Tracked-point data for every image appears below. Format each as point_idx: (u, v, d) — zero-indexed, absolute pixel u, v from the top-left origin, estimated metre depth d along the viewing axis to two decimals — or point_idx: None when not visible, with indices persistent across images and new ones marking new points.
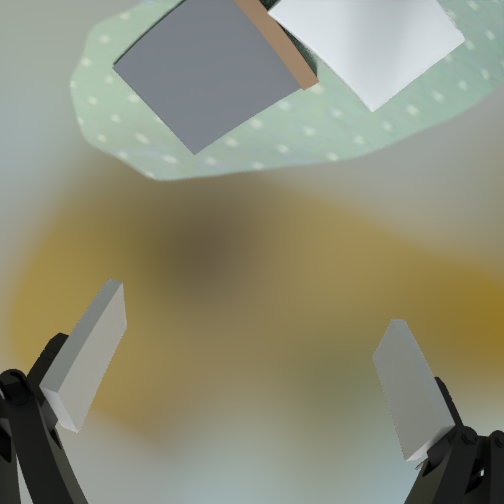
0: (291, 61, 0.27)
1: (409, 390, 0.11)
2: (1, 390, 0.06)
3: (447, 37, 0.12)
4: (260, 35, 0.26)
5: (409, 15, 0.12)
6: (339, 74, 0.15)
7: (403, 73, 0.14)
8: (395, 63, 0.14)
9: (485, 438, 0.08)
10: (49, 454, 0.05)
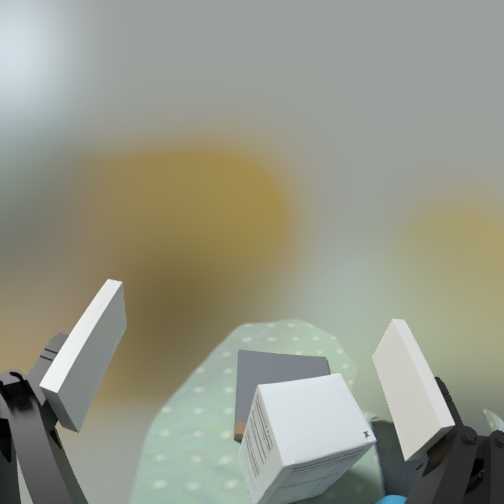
0: None
1: (409, 390, 0.11)
2: (1, 390, 0.06)
3: (291, 451, 0.21)
4: None
5: (314, 432, 0.23)
6: (290, 381, 0.28)
7: (275, 411, 0.24)
8: (284, 409, 0.25)
9: (485, 438, 0.08)
10: (49, 454, 0.05)
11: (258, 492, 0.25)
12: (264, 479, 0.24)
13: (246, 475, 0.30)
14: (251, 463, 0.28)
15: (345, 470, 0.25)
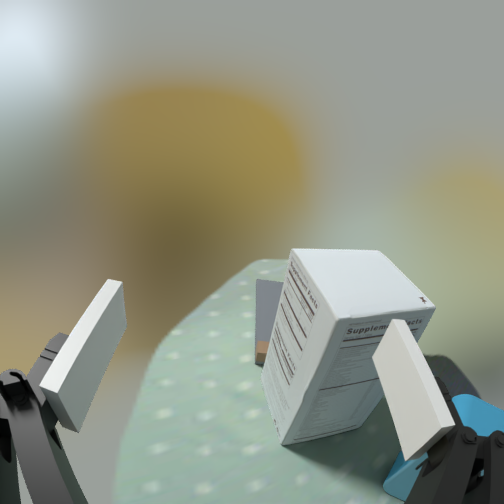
0: None
1: (409, 390, 0.11)
2: (1, 390, 0.06)
3: (342, 304, 0.19)
4: None
5: (365, 289, 0.20)
6: (327, 249, 0.26)
7: (316, 268, 0.22)
8: (326, 268, 0.22)
9: (485, 438, 0.08)
10: (49, 454, 0.05)
11: (292, 407, 0.23)
12: (302, 376, 0.22)
13: (273, 397, 0.28)
14: (282, 369, 0.26)
15: None
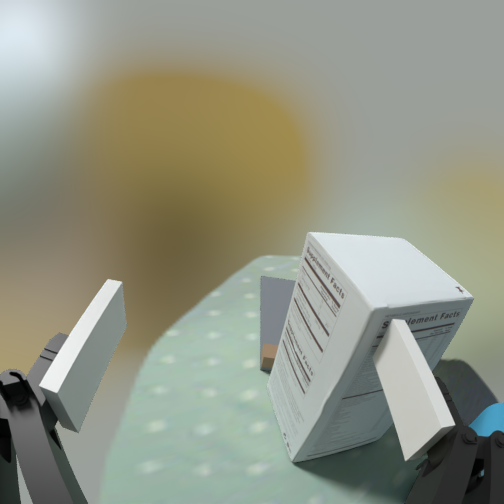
0: None
1: (409, 390, 0.11)
2: (1, 390, 0.06)
3: (376, 291, 0.15)
4: None
5: (397, 276, 0.17)
6: None
7: (339, 252, 0.19)
8: (351, 252, 0.19)
9: (485, 438, 0.08)
10: (49, 454, 0.05)
11: (307, 419, 0.19)
12: (323, 383, 0.18)
13: (282, 407, 0.23)
14: (295, 375, 0.21)
15: None
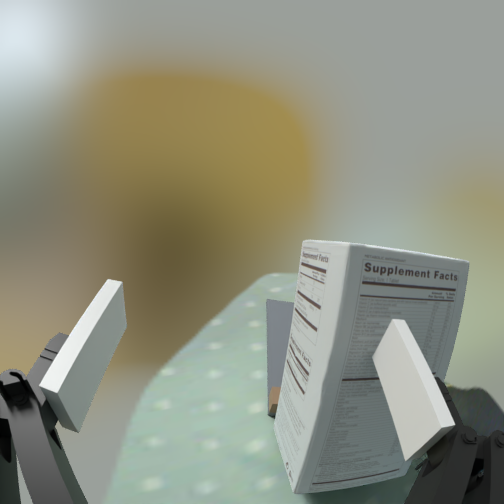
0: None
1: (409, 390, 0.11)
2: (1, 390, 0.06)
3: None
4: None
5: None
6: None
7: None
8: None
9: (485, 438, 0.08)
10: (49, 454, 0.05)
11: (308, 422, 0.16)
12: (319, 364, 0.16)
13: (285, 432, 0.20)
14: (296, 382, 0.19)
15: (444, 365, 0.16)
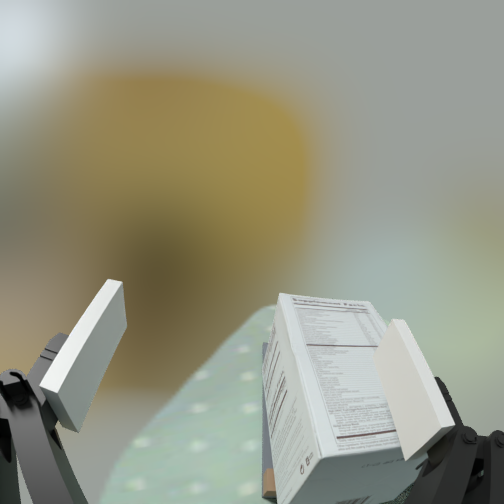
0: None
1: (409, 390, 0.11)
2: (1, 390, 0.06)
3: None
4: None
5: None
6: None
7: None
8: None
9: (485, 438, 0.08)
10: (49, 454, 0.05)
11: (296, 386, 0.17)
12: (287, 353, 0.21)
13: (288, 461, 0.15)
14: (280, 409, 0.19)
15: None
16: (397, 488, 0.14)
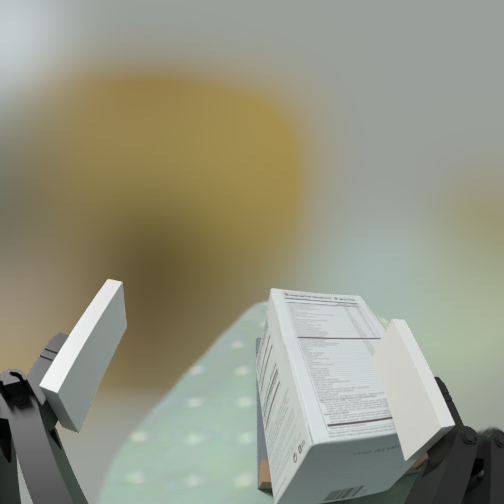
0: None
1: (409, 390, 0.11)
2: (1, 390, 0.06)
3: None
4: None
5: None
6: None
7: None
8: None
9: (485, 438, 0.08)
10: (49, 454, 0.05)
11: (288, 377, 0.18)
12: (279, 346, 0.22)
13: (282, 450, 0.16)
14: (273, 401, 0.20)
15: None
16: (390, 478, 0.15)
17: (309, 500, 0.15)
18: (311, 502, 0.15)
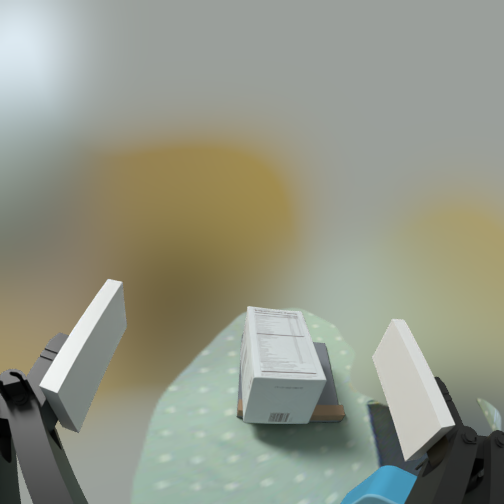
0: None
1: (409, 390, 0.11)
2: (1, 390, 0.06)
3: None
4: None
5: None
6: None
7: None
8: None
9: (485, 438, 0.08)
10: (49, 454, 0.05)
11: (249, 352, 0.39)
12: (248, 337, 0.43)
13: (246, 387, 0.37)
14: (244, 365, 0.42)
15: (307, 334, 0.44)
16: (304, 412, 0.36)
17: (260, 418, 0.36)
18: (262, 420, 0.37)
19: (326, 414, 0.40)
